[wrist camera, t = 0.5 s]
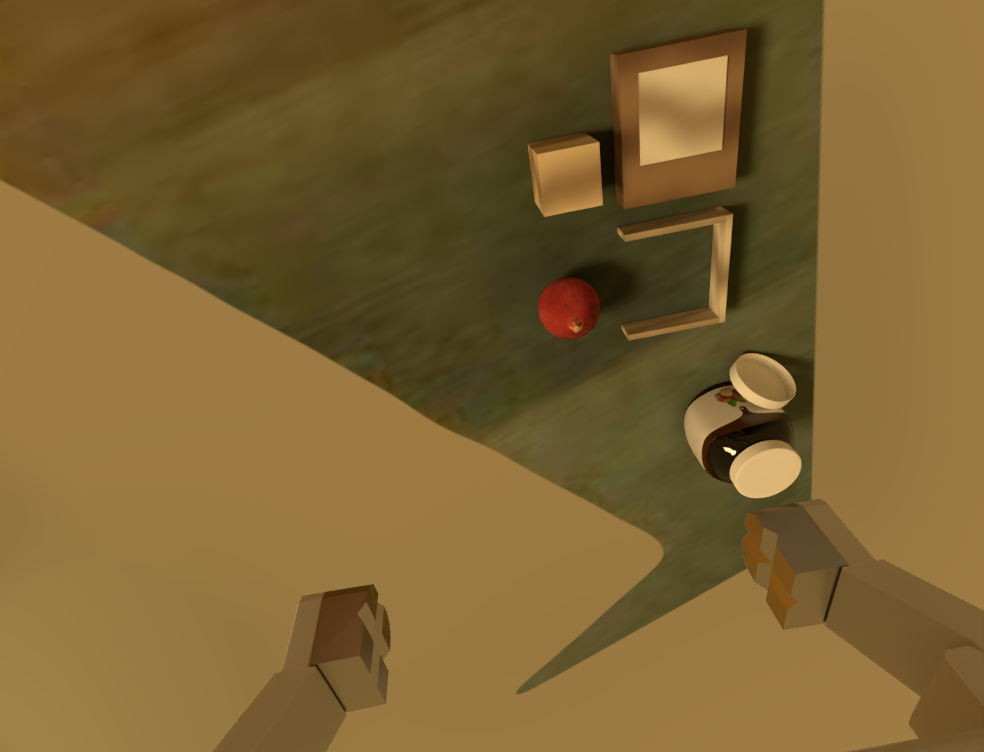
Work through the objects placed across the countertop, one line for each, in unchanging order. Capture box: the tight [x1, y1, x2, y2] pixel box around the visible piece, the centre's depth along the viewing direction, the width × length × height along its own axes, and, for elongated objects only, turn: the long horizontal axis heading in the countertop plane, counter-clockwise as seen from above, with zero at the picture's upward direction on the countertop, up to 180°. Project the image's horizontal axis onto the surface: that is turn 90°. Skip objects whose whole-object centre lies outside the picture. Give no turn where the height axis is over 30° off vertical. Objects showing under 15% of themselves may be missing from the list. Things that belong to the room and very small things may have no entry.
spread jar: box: [684, 353, 802, 498], centre depth 59 cm, size 12×11×12 cm
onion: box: [538, 277, 600, 339], centre depth 51 cm, size 6×6×8 cm
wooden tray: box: [610, 29, 747, 340], centre depth 49 cm, size 26×10×3 cm, turn 10°
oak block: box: [528, 133, 603, 217], centre depth 46 cm, size 5×5×5 cm
